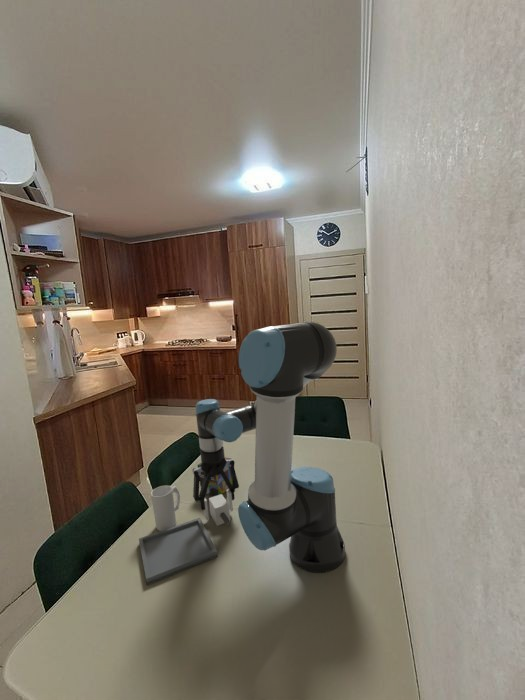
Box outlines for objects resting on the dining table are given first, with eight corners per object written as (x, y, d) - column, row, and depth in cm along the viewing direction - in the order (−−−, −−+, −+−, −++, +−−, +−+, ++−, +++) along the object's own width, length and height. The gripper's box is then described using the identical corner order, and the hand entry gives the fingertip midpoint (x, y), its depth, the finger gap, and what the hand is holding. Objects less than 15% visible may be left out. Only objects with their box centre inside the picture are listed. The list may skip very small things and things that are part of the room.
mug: (164, 534, 109) (159, 498, 107) (151, 527, 113) (146, 493, 111) (188, 517, 117) (184, 483, 115) (175, 511, 121) (171, 479, 119)
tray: (217, 556, 97) (216, 550, 97) (147, 585, 89) (146, 578, 89) (200, 522, 113) (199, 517, 113) (139, 544, 105) (138, 538, 105)
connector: (235, 529, 108) (233, 511, 108) (221, 534, 106) (219, 516, 106) (220, 506, 122) (218, 490, 121) (208, 510, 120) (206, 494, 119)
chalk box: (233, 486, 134) (230, 449, 132) (218, 498, 127) (214, 460, 125) (215, 481, 139) (211, 446, 137) (199, 492, 132) (195, 455, 130)
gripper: (237, 436, 119) (243, 498, 122) (177, 451, 111) (185, 517, 113) (245, 443, 112) (251, 509, 115) (182, 459, 104) (191, 530, 107)
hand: (218, 513), depth 114 cm, fingers open, 8 cm apart
